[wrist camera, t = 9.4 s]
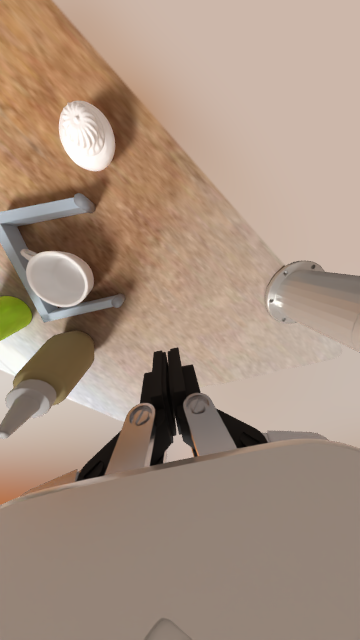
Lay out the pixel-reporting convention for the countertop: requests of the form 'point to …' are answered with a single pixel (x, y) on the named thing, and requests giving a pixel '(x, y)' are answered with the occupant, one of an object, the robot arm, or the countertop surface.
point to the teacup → (58, 277)
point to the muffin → (86, 135)
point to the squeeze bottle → (47, 378)
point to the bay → (6, 232)
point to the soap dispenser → (13, 316)
